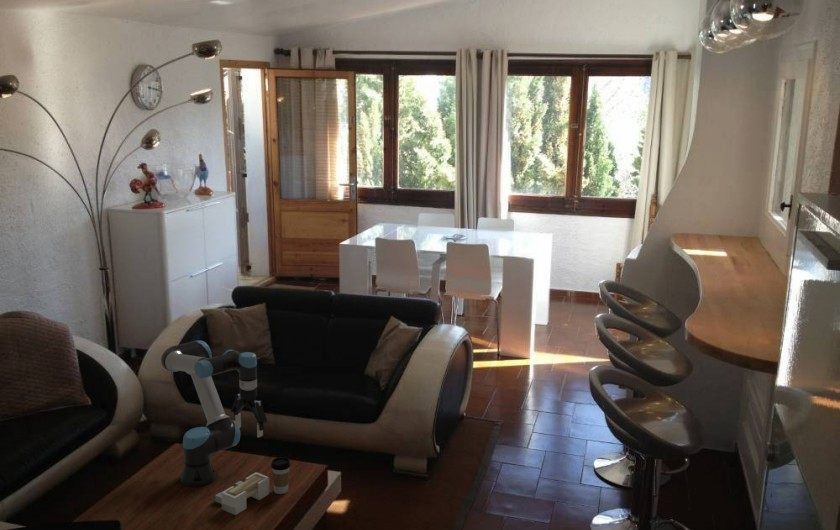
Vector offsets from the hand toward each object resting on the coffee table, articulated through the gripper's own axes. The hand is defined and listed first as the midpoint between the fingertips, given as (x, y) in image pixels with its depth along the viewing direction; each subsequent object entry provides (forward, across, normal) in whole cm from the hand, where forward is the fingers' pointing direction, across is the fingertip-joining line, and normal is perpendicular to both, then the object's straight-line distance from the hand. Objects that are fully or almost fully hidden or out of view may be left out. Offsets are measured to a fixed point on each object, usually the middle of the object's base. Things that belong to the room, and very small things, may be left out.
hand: (249, 432), depth 331 cm
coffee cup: (+27, +14, +6) cm, 31 cm away
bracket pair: (+27, +8, -10) cm, 30 cm away
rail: (+24, +8, -10) cm, 27 cm away
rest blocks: (+27, -1, -10) cm, 29 cm away
